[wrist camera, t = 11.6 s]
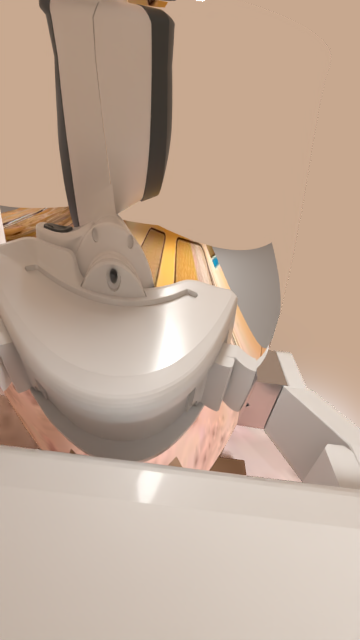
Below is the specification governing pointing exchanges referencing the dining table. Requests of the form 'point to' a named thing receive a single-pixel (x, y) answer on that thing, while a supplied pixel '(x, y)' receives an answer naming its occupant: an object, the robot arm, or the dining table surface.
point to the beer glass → (147, 216)
